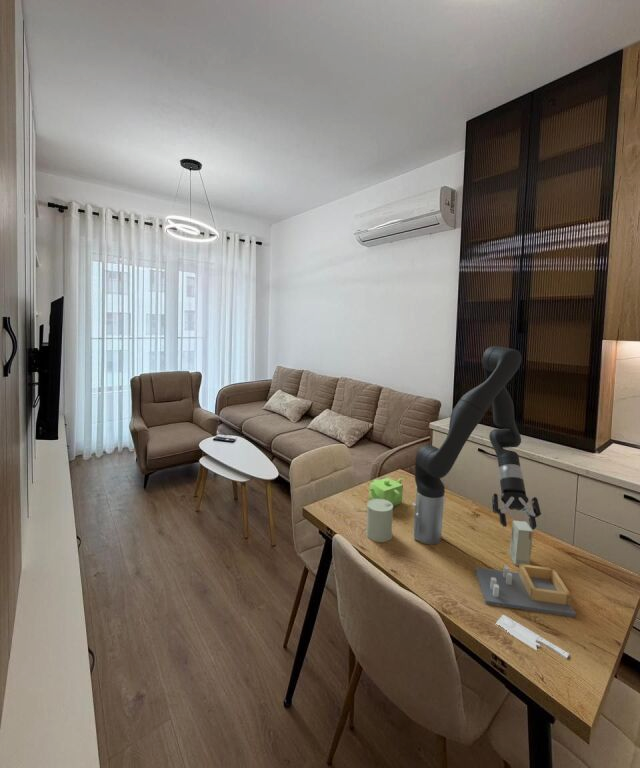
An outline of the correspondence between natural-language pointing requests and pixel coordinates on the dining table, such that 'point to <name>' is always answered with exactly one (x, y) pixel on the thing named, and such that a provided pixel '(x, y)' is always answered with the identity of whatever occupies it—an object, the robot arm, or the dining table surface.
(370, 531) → the can
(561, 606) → the board
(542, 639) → the white plastic strip tool
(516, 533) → the skincare box
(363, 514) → the dining table surface
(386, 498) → the teapot
